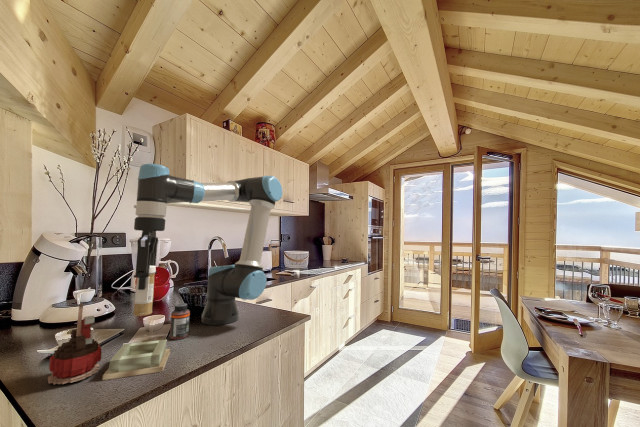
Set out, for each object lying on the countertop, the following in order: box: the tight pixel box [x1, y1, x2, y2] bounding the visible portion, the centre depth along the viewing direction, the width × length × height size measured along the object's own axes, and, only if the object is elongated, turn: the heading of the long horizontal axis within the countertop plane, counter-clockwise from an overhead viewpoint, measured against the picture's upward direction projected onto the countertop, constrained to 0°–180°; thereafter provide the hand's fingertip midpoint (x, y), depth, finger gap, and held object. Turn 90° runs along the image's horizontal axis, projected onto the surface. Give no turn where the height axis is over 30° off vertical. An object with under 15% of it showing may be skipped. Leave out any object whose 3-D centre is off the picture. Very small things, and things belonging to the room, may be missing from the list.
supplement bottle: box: [169, 302, 191, 341], centre depth 94 cm, size 6×6×11 cm
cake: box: [47, 303, 103, 385], centre depth 67 cm, size 11×9×18 cm
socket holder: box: [102, 339, 171, 381], centre depth 73 cm, size 13×12×4 cm
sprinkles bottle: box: [133, 265, 157, 317], centre depth 75 cm, size 5×5×13 cm
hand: (143, 299), depth 74 cm, fingers closed on sprinkles bottle, 4 cm apart
